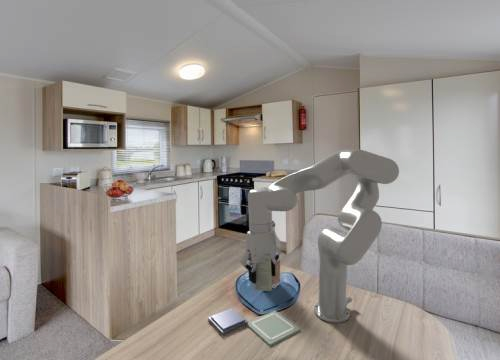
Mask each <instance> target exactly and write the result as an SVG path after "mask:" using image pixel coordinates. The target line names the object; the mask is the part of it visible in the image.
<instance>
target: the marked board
mask: <svg viewBox="0 0 500 360" xmlns="http://www.w3.org/2000/svg"><path fill="white" fill-rule="evenodd" d="M246 326H247V327H248V328H249V329H250V330H252V332H253V333H254V334H256V335H257V336H258V337H259V338H260V339H261V340H263V341H264V342H265V343H266V344H267V345H268V346H270V347H271V346H273V345H275V344H277V343H279V342H281V341H282V340H285V339H287V338H288V337H291V336H293V335H294V334H297V333H298V332H300V331H301V328H300V327H299V326H297V325H296V324H295V323H294V322H292V321H290V320H289V319H288V318H286V317H285V316H284V315H282V314H281V313H280V312H278V311H277V310H273V311H270V312H269V313H268V312H267V313H265V314H263V315H261V316H258V317H257V318H254V319H252V320H250V321H248V323H247V325H246Z"/></svg>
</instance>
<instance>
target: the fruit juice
mask: <svg viewBox="0 0 500 360" xmlns="http://www.w3.org/2000/svg"><path fill="white" fill-rule="evenodd" d="M275 228H276V223H275V222H274V224H273V225H272V229H273V230H274V234H275V239H276V247H278V248H279V249H280V246H281V241H280V239H279V237H278V235H277V233H276V229H275ZM280 283H281V254H280V255H279V258H278V260H277V264H276V265H275V276H272V288H275V289H277V288H278V287H277V286H278V285H279V284H280ZM279 286H280V285H279ZM276 287H277V288H276Z"/></svg>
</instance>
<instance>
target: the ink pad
mask: <svg viewBox="0 0 500 360" xmlns="http://www.w3.org/2000/svg"><path fill="white" fill-rule="evenodd" d="M248 322H249V321H248V320H247V319H246V318H245V317H244V316H242V315H241V314H240V313H239V312H238V311H236V310H235V309H234V308H233V307H230V308H228V309H225V310H223V311H219V312H218V313H215V314H213V315H210V316H208V323H210V324H211V325H212V326H213V327H214V329H216V331H217V332H218V333H219V334H220V335H221V336H222V337H223V336H225V335H228V334H230V333H233V332H235V331H237V330H240V329H242V328H245V327H246V326H247V323H248Z"/></svg>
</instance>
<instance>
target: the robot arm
mask: <svg viewBox="0 0 500 360" xmlns="http://www.w3.org/2000/svg"><path fill="white" fill-rule="evenodd" d="M399 174H400V169H399V165H398V164H397V162H396V161H394V160H393V159H391V158H388V157H385V156H382V155H379V154H375V153H373V152H370V151H367V150H363V149H358V148H357V149H356V148H355V149H353V148H344V149H340V150H338V151H337V150H336V151H335V152H334V153H332V154H330V155H328V156H327V157H325V158H323V159H321V160H319V161H317V163H315V164H313V165H311V166H309V167H306V168H303V169H301V170H298V171H296V172H294V173H291V174H288V175H286V176H284V177H282V178H280V179H279V180H277V181H275V182H273V183H271V185H269V186H268V187H267V188H253V189H250V190H249V191H248V193H247V202H248V205H247V207H248V228H249V229H248V231H247V232H246V237H245V246H244V247H245V249H244V252H245V253H244V256H243V257H242V258H241V260H240V261H239V263H240V264H241V265H242V266H243V267H244V268H245V269H247V272H248V280H249V282H250V283H252V284H253V283H254V284H255V283H256V272H255V271H254V270H255V268H256V265H257V264H258V263H261V262H263V260H264V256H265V255H268V254H270V256H271V272H272V276H275V265H276V264H277V260H278V258H279V255H280V256H281V253H282V249H281V248H280V247H279V248H278V247H276V239H275V234H274V230H273V229H272V225H273V224H274V223H275V221H274V220H273V212H290V211H291V210H292V211H293V209H295V207H296V206H297V204H298V196H297V194H299V193H301V192H302V193H303V192H310V191H316V190H322V189H324V188H327V186H328V187H329V185H331V184H333V183H334V182H336V181H338V180H339V179H341V178H343V177H344V176H347V175H349V176H355V179H356V187H355V190H354V191H353V193H352V194H351V196H350V198H349V199H348V201H347V202H346V203H345V204H344V206H343V207H342V208H341V210H340V212H339V213H338V216H337V222H338V224H339V226H341V228H343V229H345V230H347V232H346V231H344V230H341V229H339V228H335V227H331V226H330V227H326V228H324V229H322V230H321V231H320V232H319V235H318V238H317V248H318V250H317V251H318V255H319V257H318V258H319V269H318V302H317V303H315V304H314V306H313V312H314V314H315V315H316V316H317V317H318V318H319V319H321V320H322V321H326V322H328V323H332V324H340V323H344V322H346V320H349V319H350V317H351V316H350V315H351V312H350V310H349V308H348V307H347V306H348V304H351V303H352V302H353V298H352V297H351V296H348V297H347V275H348V266H354V265H356V264H357V263H359V261H361V260H362V259H363V257H365V255H366V253H367V252H368V250H369V249H370V248H371V246H372V245H373V243H374V242H375V240H376V239H377V237H378V236H379V235H380V233H381V229H382V227H383V226H382V224H383V222H382V218H381V216H380V215H379V213H378V212H377V211H375V210H374V208H375V206H376V205H377V203H378V201H379V198H380V190H379V185H378V184H381V185H389V184H392V183H393V182H395V181H396V180H397V179H398V177H399ZM247 262H248V263H247ZM252 263H253V265H252Z"/></svg>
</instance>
